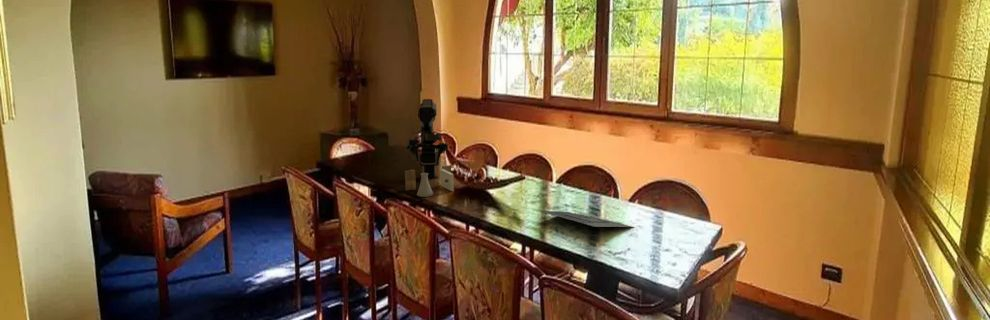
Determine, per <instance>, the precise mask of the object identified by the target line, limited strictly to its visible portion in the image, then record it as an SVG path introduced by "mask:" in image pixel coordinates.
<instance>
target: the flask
mask: <svg viewBox="0 0 990 320" xmlns="http://www.w3.org/2000/svg"><path fill="white" fill-rule="evenodd" d="M427 175H428V173H424V172H422V173H420V184H419V186H418V190H417V193H416V196H418V197H421V198H428V197H431V196H433V195H434V191H433V190H432V186H431V185H430V182H429V179H428V176H427Z"/></svg>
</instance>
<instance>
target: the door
mask: <svg viewBox="0 0 990 320" xmlns="http://www.w3.org/2000/svg"><path fill="white" fill-rule="evenodd" d="M454 179H455V178H454V173H453V172H452V173H450V172H448V171H446V170H444V169H442V168H440V169H439V181H440V182H439V183H440V184H439V185H440V186H441V187H443V189H444V188H445V189H447V190H448V191H449V192H454V190H455V188H454V187H455V186H454V181H455V180H454Z"/></svg>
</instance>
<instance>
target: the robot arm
mask: <svg viewBox="0 0 990 320" xmlns="http://www.w3.org/2000/svg"><path fill="white" fill-rule="evenodd" d="M421 101H422V102H421V103H420V104H419V108H418V109H417V110H418V111H417V115H418V116H417V117H418V119H419V122H420V123H419V124H420V135H419V138H420V142H419V141H418V139H413V138H410V139H408V141H407V142H406V143H405V149H408V151H410V152H411V154H412V156H413V158H414V160H415V163H416V164H417V163H419V162H420V163H419V164H420V167H423V169H422V170H423V173H428V175H427V176H428V180H429V179H436V178H439V177H438V176H437V175H436V167H438V166H439V165H440V158H441V154H443V153H445V152H446V151H447V150H448V149H449V146H448V144H447V143H445V142H439V143H438V144H436V142H438V141H441V140H442V133H440V132H436V133H435V132H434V122H435V120H436V116H437V114H438V113H437V104H436V103H435V102H433V99H431V98H428V99H427V98H426V99H425V98H424V99H422V100H421ZM419 148H421V153H420V154H419Z"/></svg>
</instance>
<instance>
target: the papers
mask: <svg viewBox="0 0 990 320" xmlns="http://www.w3.org/2000/svg"><path fill="white" fill-rule="evenodd" d="M540 212H541V213H543V214H547V215H551V216H554V217H558V218H559V219H563V220H567V221H570V222H574V223H578V224H581V225H586V226H589V227H595V228H596V227H597V228H600V227H604V228H605V227H607V228H611V227H614V228H617V227H618V228H633V226H632V225H627V224H625V223H621V222H618V221H614V220H608V219H604V218H599V217H596V216H590V215H586V214H585V215H584V214H580V213H574V212H570V211H560V210H559V211H557V210H556V211H555V210H540Z"/></svg>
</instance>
